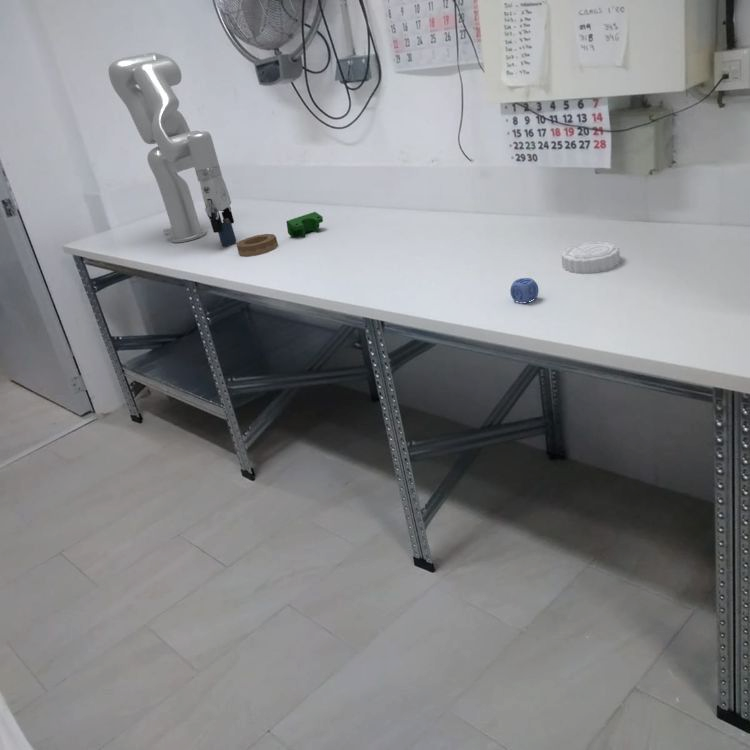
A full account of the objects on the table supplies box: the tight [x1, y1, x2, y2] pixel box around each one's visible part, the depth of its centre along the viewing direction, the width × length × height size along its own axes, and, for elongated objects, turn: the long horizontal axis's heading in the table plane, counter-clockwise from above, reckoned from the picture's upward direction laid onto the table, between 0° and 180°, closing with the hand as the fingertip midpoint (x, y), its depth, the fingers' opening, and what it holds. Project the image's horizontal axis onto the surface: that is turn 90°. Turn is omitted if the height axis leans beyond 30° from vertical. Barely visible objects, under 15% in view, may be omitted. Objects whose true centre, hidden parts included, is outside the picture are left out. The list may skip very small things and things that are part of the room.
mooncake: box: [561, 241, 621, 274], centre depth 158 cm, size 12×12×4 cm
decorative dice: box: [510, 277, 540, 302], centre depth 147 cm, size 4×4×4 cm
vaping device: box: [214, 213, 237, 248], centre depth 235 cm, size 3×5×12 cm, turn 111°
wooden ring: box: [235, 233, 279, 257], centre depth 224 cm, size 12×12×3 cm
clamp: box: [285, 211, 324, 238], centre depth 230 cm, size 11×6×8 cm, turn 117°
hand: (224, 227), depth 235 cm, fingers open, 9 cm apart
